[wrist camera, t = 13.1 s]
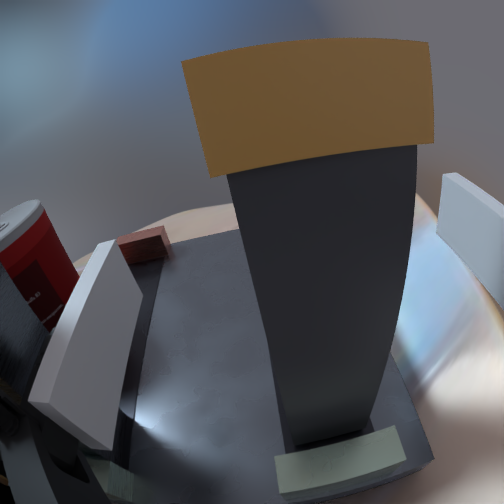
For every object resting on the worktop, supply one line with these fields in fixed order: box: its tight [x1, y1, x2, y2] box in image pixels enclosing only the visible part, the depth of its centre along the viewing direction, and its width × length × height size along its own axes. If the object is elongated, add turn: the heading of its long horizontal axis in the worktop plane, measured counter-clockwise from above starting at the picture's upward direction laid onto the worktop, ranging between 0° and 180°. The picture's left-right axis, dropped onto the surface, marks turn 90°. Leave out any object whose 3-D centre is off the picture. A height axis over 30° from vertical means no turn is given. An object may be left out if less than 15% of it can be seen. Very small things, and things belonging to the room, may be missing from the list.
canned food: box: [0, 200, 80, 333], centre depth 18 cm, size 8×8×11 cm
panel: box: [0, 226, 434, 504], centre depth 14 cm, size 17×21×15 cm
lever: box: [181, 38, 434, 446], centre depth 8 cm, size 3×3×13 cm
